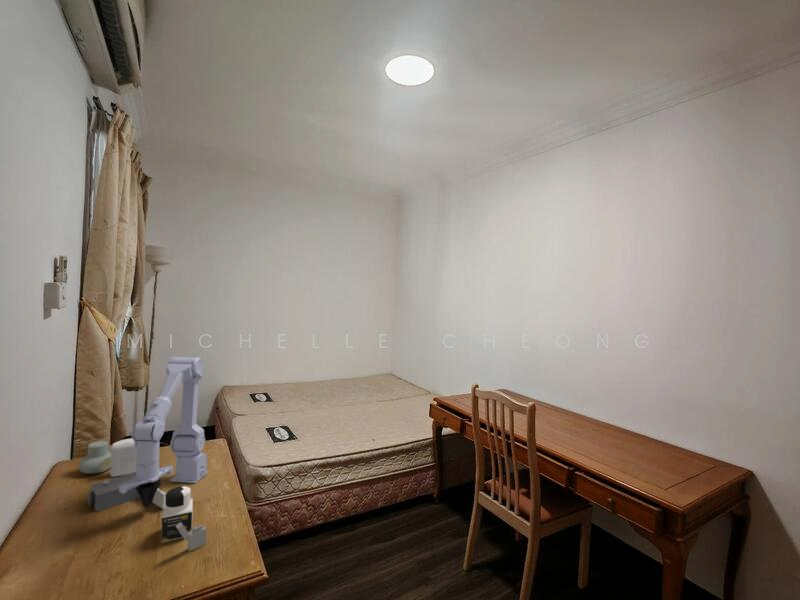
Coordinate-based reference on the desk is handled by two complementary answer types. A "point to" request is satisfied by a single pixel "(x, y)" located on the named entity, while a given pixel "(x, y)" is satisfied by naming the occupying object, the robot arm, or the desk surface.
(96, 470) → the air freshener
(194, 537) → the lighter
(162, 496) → the side door
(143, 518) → the desk surface
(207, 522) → the desk surface
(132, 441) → the photo printer
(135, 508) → the desk surface
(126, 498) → the camera case
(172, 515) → the medicine bottle
